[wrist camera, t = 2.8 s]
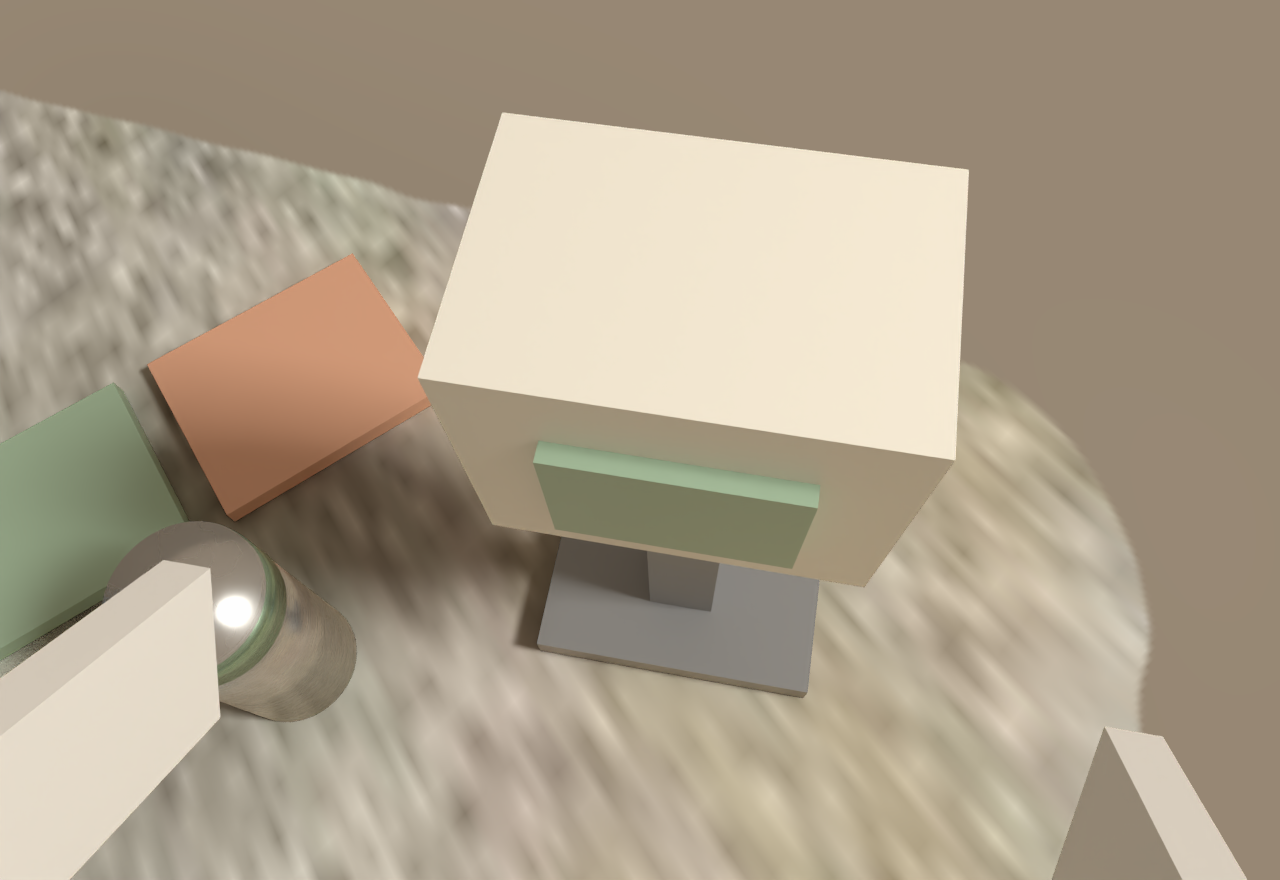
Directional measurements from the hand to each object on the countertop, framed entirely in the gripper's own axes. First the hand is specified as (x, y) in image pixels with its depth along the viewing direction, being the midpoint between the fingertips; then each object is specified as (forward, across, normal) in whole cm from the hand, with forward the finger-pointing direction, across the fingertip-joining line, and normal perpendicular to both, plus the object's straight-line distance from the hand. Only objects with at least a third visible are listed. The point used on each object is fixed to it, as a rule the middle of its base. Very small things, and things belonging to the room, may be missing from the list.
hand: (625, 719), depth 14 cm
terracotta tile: (+36, -24, -9) cm, 44 cm away
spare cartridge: (+25, -19, -20) cm, 37 cm away
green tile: (+28, -34, -16) cm, 47 cm away
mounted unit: (+30, -1, -15) cm, 34 cm away
